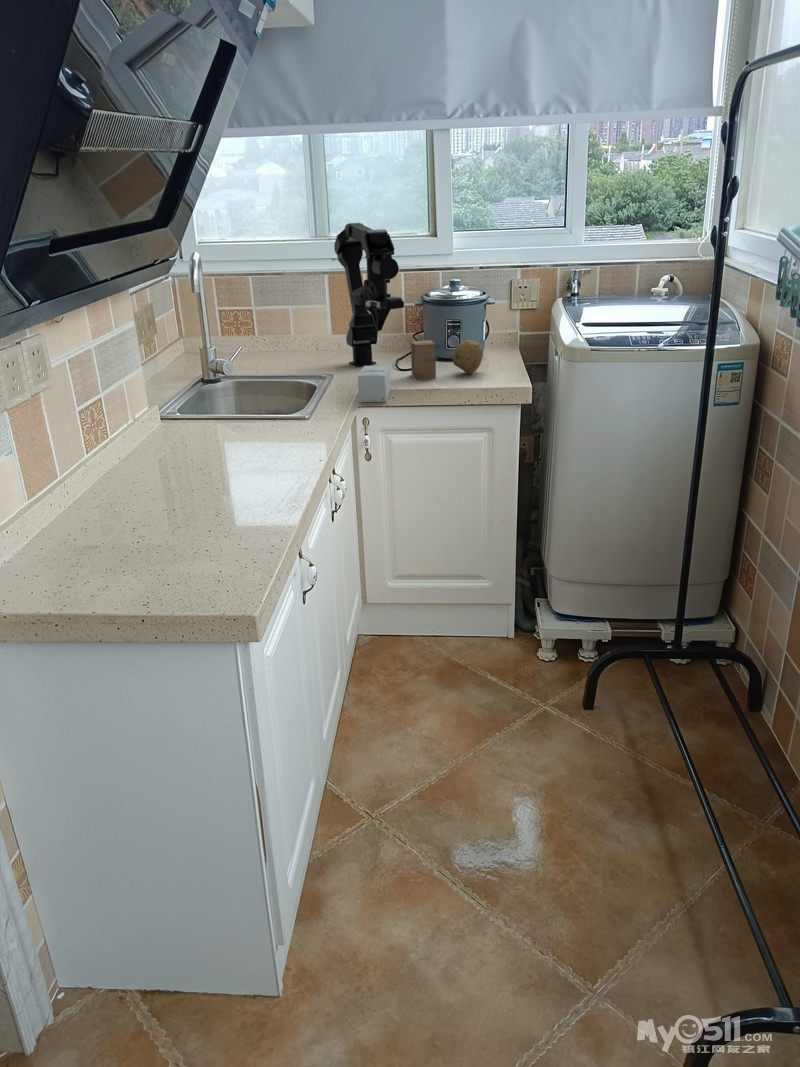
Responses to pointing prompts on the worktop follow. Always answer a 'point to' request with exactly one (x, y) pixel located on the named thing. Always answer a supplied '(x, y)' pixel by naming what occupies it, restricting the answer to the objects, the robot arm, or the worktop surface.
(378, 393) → the supplement box
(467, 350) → the natural sponge
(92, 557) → the worktop surface
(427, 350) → the walnut block
